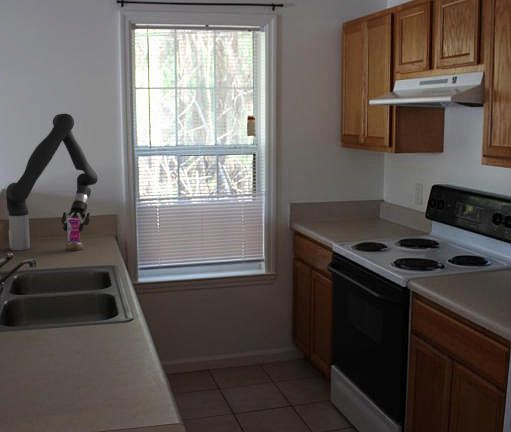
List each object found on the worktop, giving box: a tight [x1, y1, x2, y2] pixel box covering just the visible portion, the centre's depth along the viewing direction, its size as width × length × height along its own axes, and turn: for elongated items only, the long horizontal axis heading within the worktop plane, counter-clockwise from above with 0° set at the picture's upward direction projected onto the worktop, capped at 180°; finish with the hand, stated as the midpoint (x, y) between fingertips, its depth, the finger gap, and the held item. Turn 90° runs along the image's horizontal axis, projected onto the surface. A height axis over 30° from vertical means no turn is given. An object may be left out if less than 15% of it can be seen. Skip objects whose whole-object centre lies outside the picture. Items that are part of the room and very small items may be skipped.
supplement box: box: [66, 218, 81, 243], centre depth 338 cm, size 6×6×12 cm
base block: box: [65, 241, 83, 252], centre depth 339 cm, size 8×8×3 cm
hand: (72, 230), depth 336 cm, fingers closed on supplement box, 7 cm apart
